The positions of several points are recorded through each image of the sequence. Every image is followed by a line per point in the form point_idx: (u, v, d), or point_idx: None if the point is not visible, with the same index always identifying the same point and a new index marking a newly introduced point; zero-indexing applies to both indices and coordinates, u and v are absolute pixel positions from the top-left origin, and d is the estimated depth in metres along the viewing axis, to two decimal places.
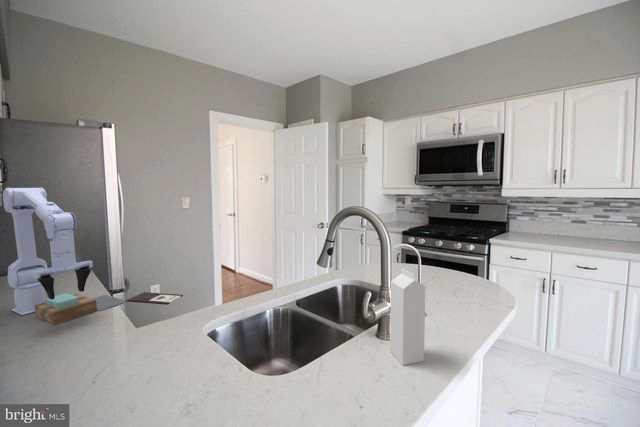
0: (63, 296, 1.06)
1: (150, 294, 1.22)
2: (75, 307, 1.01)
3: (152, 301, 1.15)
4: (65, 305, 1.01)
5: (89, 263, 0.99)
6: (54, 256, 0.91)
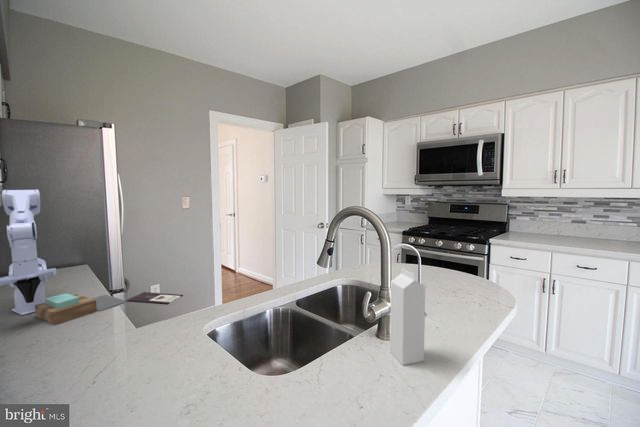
0: (63, 296, 1.06)
1: (150, 294, 1.22)
2: (75, 307, 1.01)
3: (152, 301, 1.15)
4: (65, 305, 1.01)
5: (53, 271, 1.02)
6: (15, 264, 0.93)
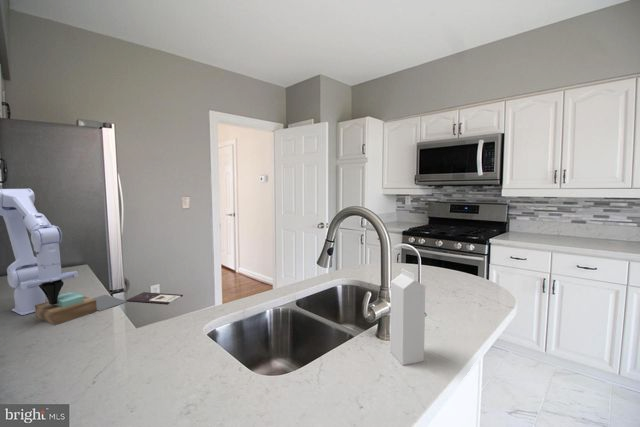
0: (68, 295, 1.07)
1: (150, 294, 1.22)
2: (75, 307, 1.01)
3: (152, 301, 1.15)
4: (70, 304, 1.02)
5: (74, 274, 1.06)
6: (40, 268, 0.98)
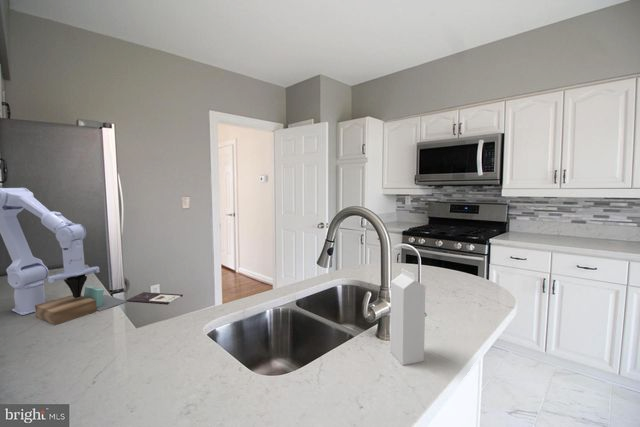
0: None
1: (150, 294, 1.22)
2: (75, 307, 1.01)
3: (152, 301, 1.15)
4: (98, 296, 1.10)
5: (96, 269, 1.12)
6: (66, 263, 1.04)
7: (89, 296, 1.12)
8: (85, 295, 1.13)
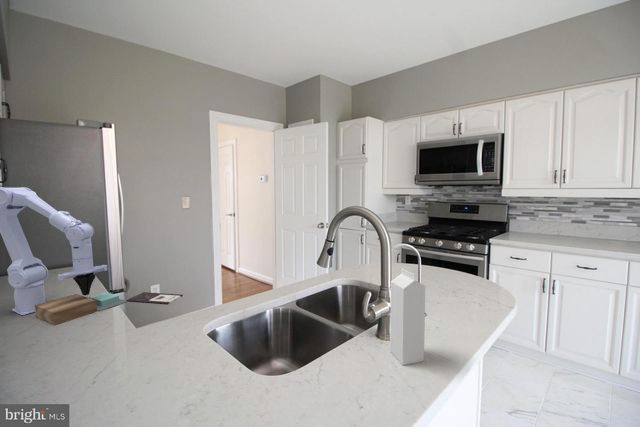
0: None
1: (150, 294, 1.22)
2: (75, 307, 1.01)
3: (152, 301, 1.15)
4: (112, 298, 1.14)
5: (104, 267, 1.14)
6: (75, 261, 1.06)
7: (103, 296, 1.16)
8: (98, 295, 1.17)
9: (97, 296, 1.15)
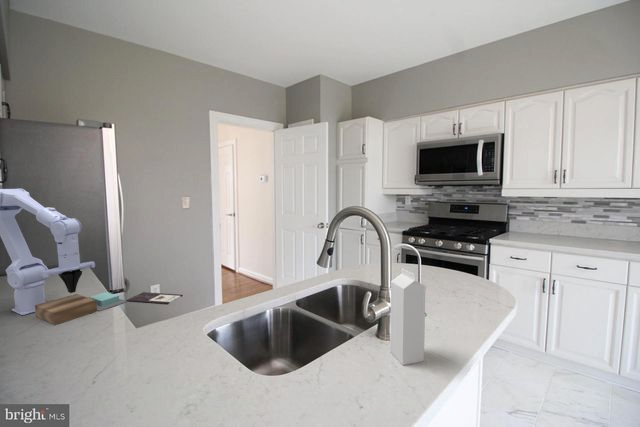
0: None
1: (149, 294, 1.22)
2: (75, 307, 1.01)
3: (152, 301, 1.15)
4: (112, 298, 1.14)
5: (92, 264, 1.11)
6: (61, 257, 1.02)
7: (103, 296, 1.16)
8: (98, 295, 1.17)
9: (97, 296, 1.15)
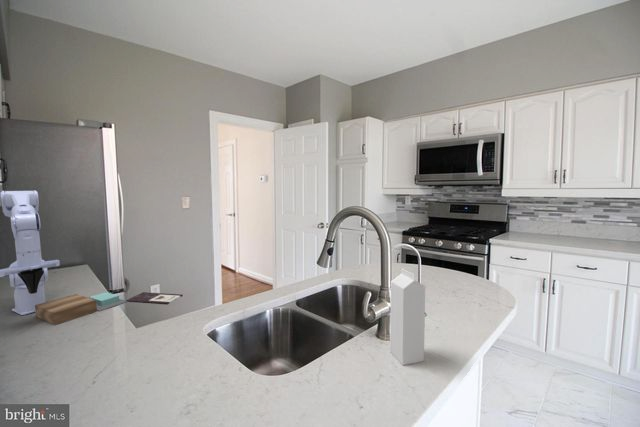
0: None
1: (149, 294, 1.22)
2: (75, 307, 1.01)
3: (152, 301, 1.15)
4: (112, 298, 1.14)
5: (56, 262, 1.02)
6: (19, 255, 0.94)
7: (103, 296, 1.16)
8: (98, 295, 1.17)
9: (97, 296, 1.15)
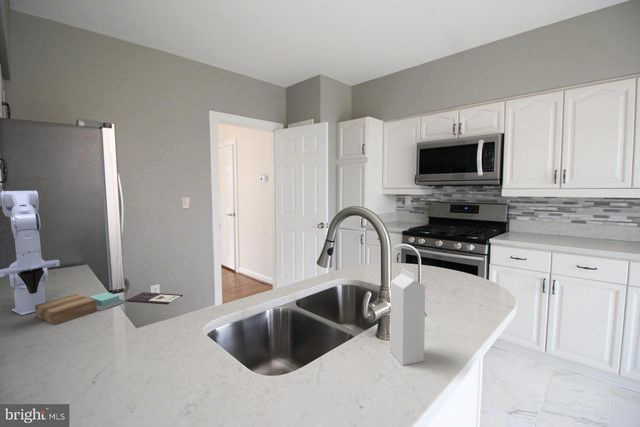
0: None
1: (149, 294, 1.22)
2: (75, 307, 1.01)
3: (152, 301, 1.15)
4: (112, 298, 1.14)
5: (56, 262, 1.02)
6: (19, 255, 0.94)
7: (103, 296, 1.16)
8: (98, 295, 1.17)
9: (97, 296, 1.15)
